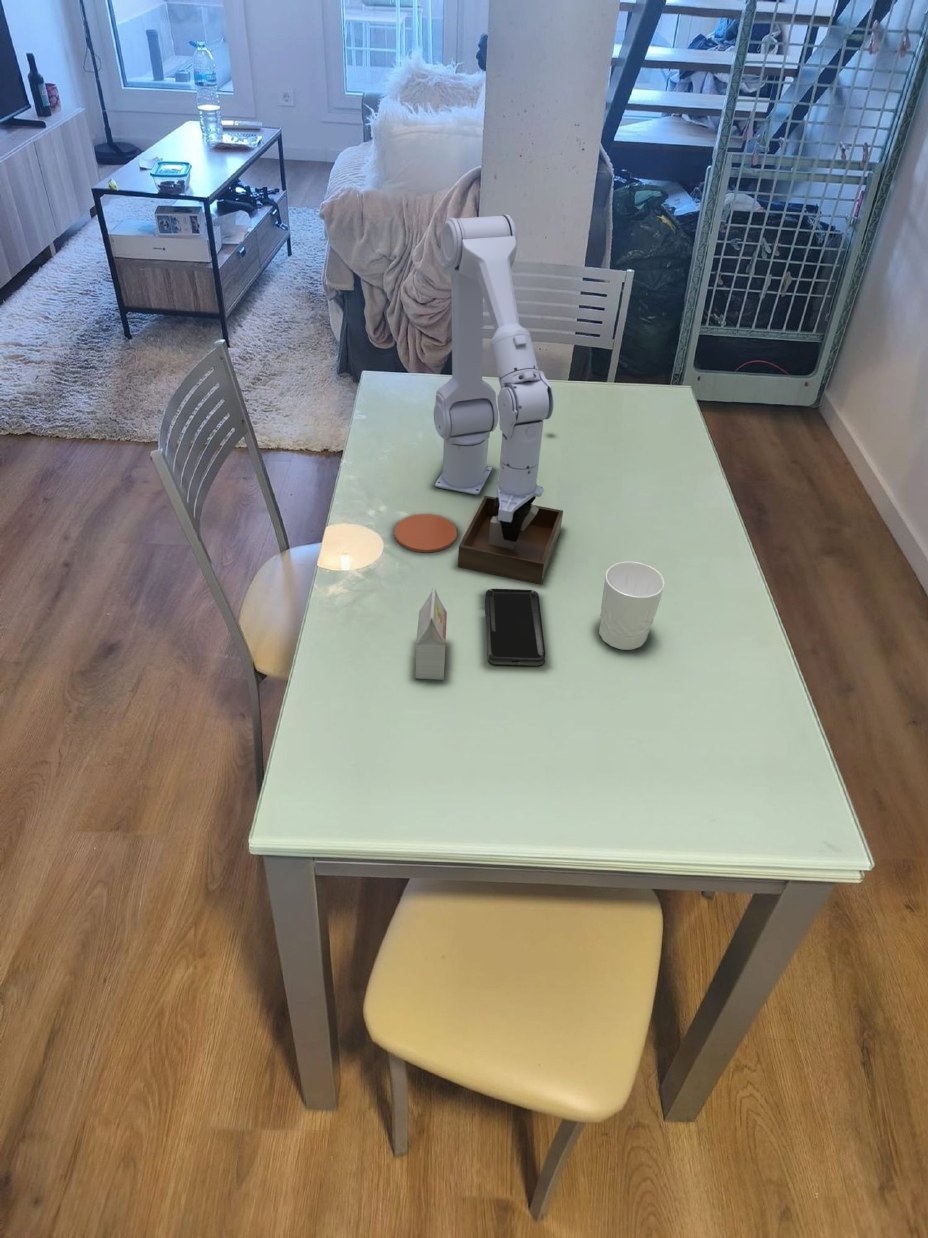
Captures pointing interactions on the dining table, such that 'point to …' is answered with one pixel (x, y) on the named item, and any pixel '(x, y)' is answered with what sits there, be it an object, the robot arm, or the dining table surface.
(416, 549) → the coaster
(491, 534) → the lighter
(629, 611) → the white cup
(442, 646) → the milk carton
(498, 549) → the tray
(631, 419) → the dining table surface
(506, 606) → the phone
